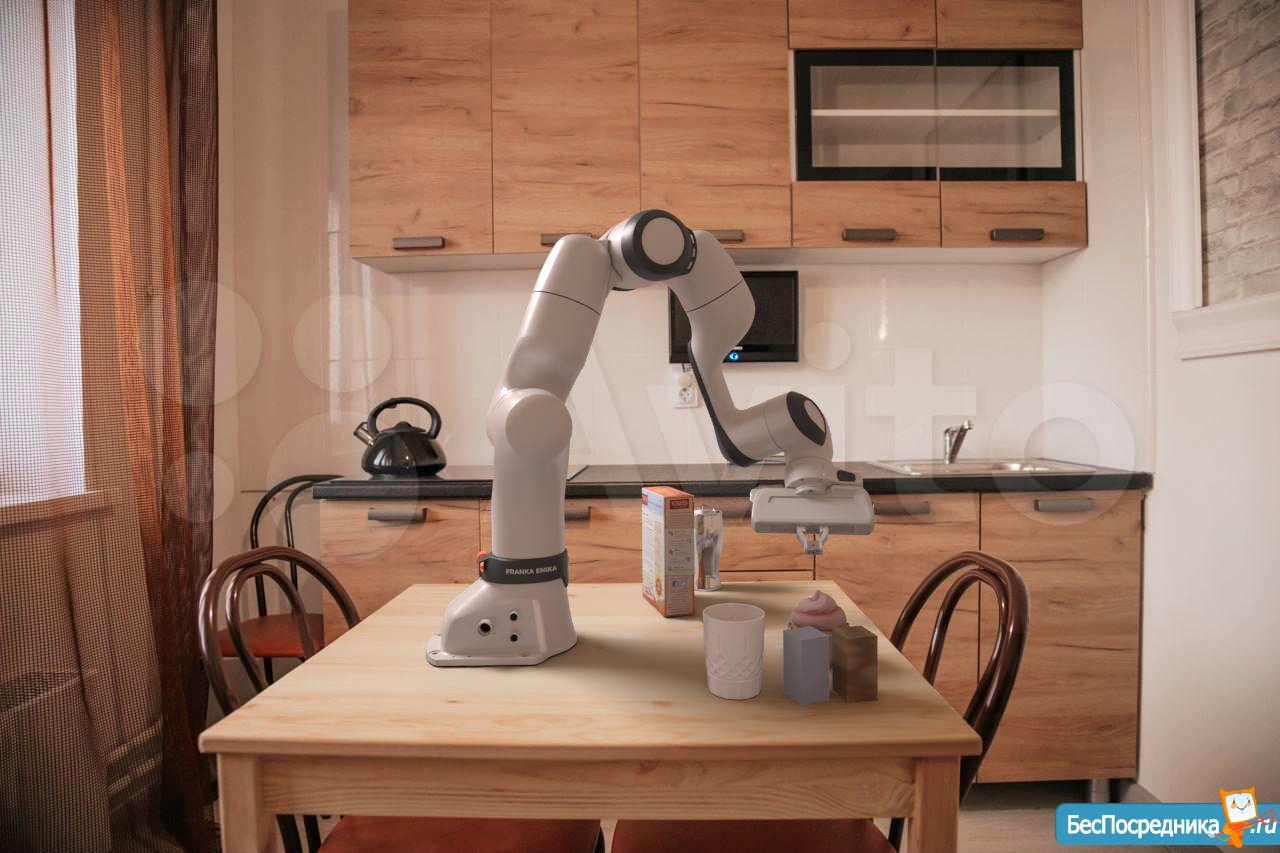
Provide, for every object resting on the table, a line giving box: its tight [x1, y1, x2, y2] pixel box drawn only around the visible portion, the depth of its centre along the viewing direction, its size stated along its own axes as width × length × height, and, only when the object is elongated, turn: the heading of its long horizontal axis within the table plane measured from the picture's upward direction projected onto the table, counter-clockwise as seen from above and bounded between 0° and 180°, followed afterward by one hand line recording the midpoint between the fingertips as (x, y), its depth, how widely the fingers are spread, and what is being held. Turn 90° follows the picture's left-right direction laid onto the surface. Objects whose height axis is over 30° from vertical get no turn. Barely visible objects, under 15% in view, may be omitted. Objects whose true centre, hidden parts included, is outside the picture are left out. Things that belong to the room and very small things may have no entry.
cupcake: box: [785, 589, 850, 667], centre depth 98 cm, size 9×9×10 cm
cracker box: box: [641, 486, 696, 618], centre depth 125 cm, size 14×6×21 cm, turn 15°
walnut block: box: [831, 625, 879, 704], centre depth 86 cm, size 4×4×8 cm
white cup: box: [702, 602, 766, 701], centre depth 89 cm, size 8×8×10 cm
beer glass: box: [694, 508, 724, 592], centre depth 137 cm, size 7×7×15 cm
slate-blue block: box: [782, 626, 830, 706], centre depth 86 cm, size 4×4×8 cm
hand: (813, 553), depth 113 cm, fingers closed
